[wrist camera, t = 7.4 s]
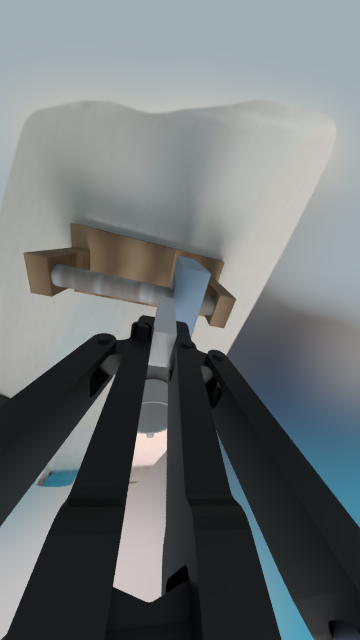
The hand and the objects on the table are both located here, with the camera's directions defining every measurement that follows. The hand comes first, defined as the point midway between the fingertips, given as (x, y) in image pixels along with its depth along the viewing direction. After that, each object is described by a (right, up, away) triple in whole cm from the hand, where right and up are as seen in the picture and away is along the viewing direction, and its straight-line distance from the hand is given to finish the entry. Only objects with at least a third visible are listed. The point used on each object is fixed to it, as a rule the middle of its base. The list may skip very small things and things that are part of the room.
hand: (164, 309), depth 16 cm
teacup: (-5, -19, +25) cm, 32 cm away
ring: (+1, +4, +8) cm, 9 cm away
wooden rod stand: (-4, +7, +11) cm, 13 cm away
